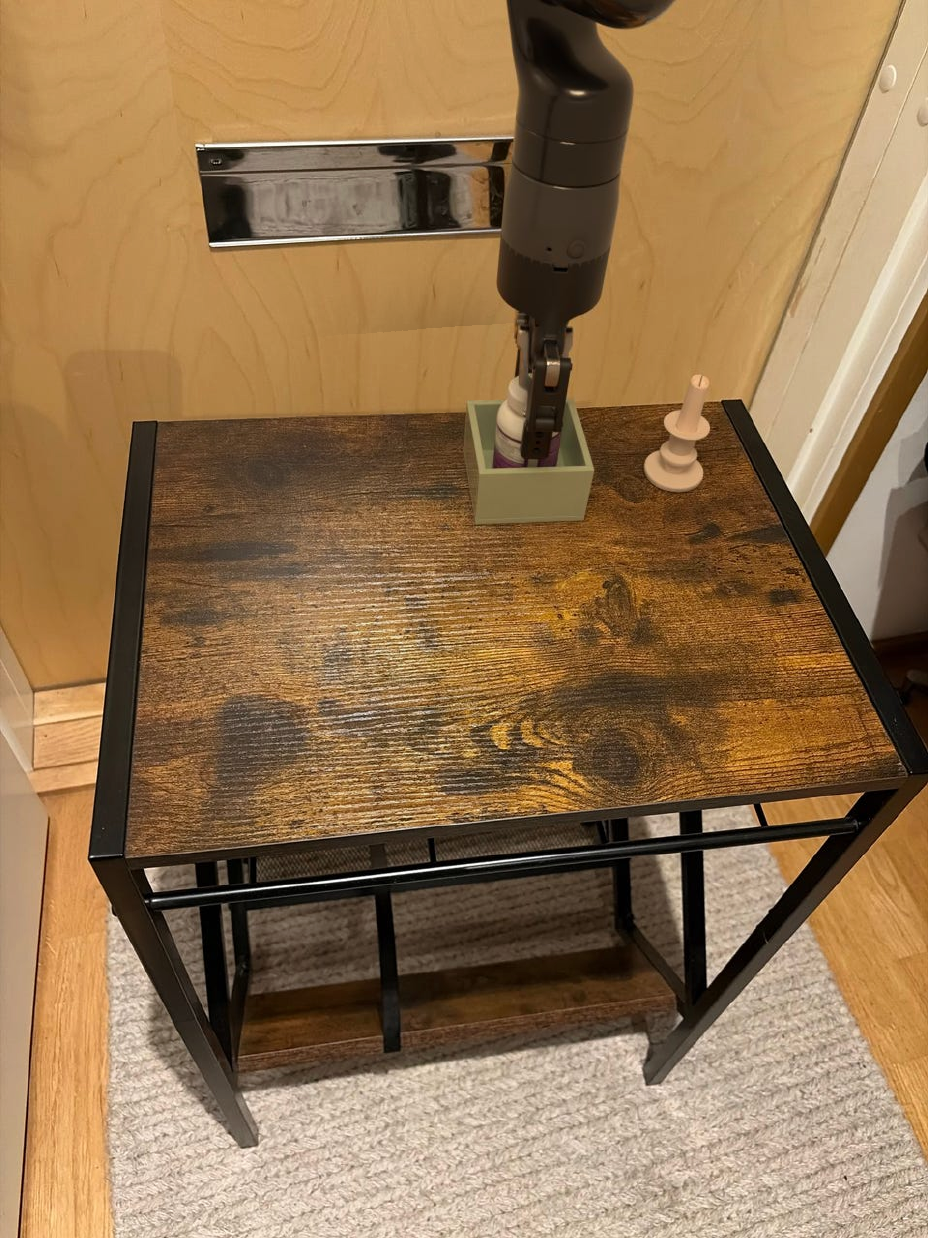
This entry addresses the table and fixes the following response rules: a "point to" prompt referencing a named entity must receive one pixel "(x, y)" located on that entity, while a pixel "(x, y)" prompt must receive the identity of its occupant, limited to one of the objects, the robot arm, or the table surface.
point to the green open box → (525, 473)
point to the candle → (681, 443)
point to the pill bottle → (517, 433)
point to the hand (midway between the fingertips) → (530, 421)
